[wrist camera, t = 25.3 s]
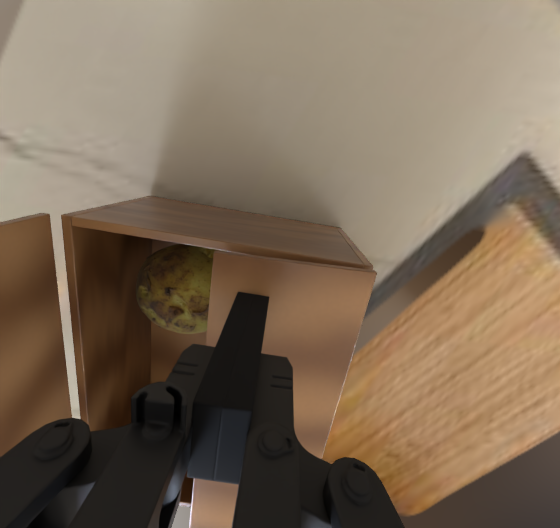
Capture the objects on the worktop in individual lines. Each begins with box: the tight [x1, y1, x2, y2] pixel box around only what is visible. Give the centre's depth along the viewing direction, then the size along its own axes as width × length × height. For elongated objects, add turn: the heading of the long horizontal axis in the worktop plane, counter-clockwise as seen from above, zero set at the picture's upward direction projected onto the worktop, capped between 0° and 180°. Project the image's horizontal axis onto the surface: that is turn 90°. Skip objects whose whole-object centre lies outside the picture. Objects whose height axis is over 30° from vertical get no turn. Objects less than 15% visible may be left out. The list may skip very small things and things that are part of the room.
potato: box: [136, 244, 241, 334], centre depth 20 cm, size 8×13×8 cm, turn 71°
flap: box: [189, 251, 377, 528], centre depth 17 cm, size 21×8×1 cm, turn 171°
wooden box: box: [0, 196, 373, 507], centre depth 18 cm, size 21×17×17 cm
